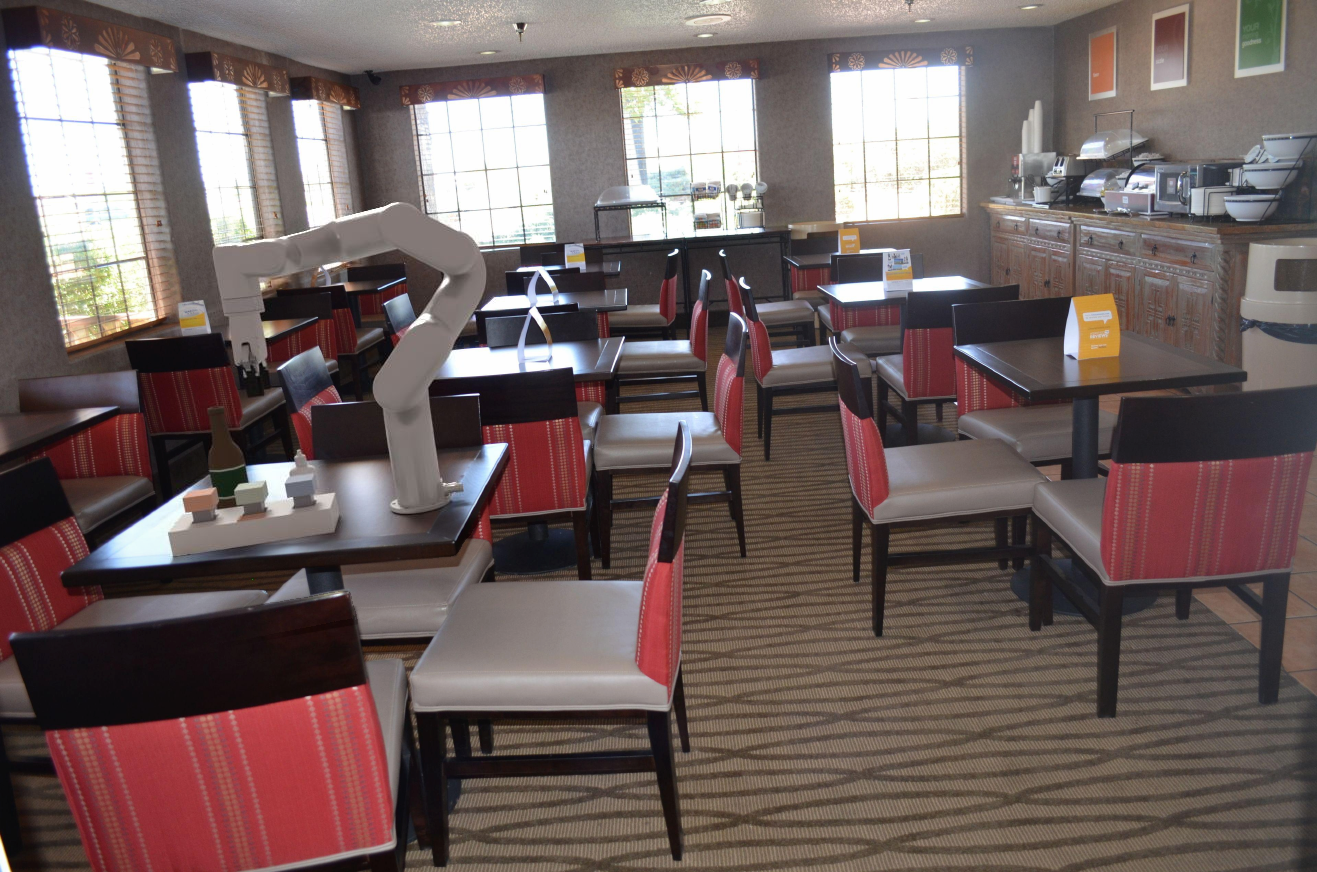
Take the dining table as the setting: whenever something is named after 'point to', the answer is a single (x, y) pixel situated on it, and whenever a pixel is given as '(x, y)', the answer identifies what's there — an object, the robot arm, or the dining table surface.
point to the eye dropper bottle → (304, 469)
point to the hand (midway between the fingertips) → (259, 392)
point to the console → (254, 526)
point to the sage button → (252, 497)
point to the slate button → (301, 490)
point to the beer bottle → (224, 460)
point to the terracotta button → (201, 504)
